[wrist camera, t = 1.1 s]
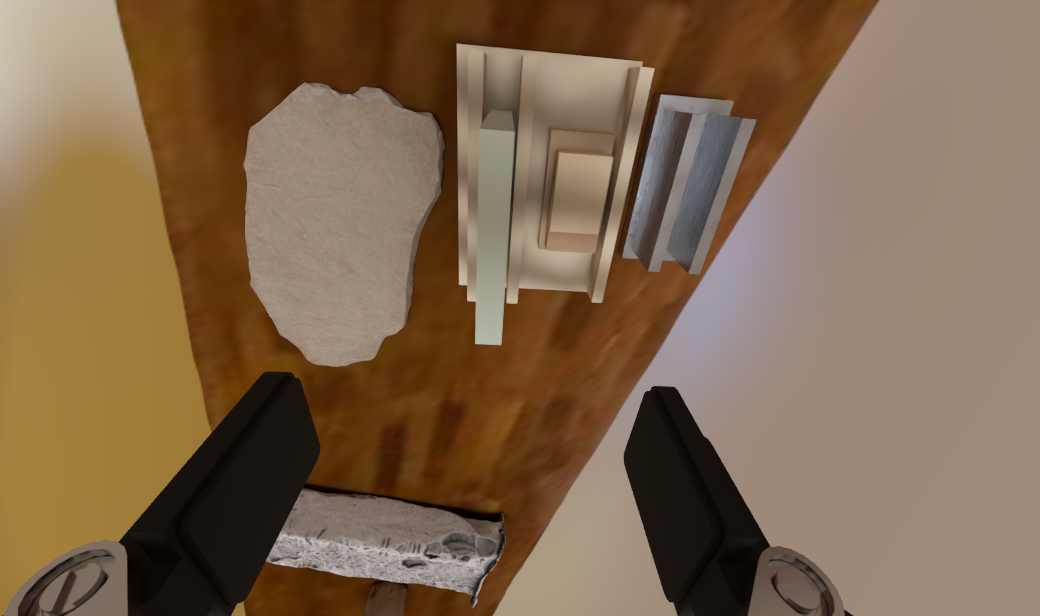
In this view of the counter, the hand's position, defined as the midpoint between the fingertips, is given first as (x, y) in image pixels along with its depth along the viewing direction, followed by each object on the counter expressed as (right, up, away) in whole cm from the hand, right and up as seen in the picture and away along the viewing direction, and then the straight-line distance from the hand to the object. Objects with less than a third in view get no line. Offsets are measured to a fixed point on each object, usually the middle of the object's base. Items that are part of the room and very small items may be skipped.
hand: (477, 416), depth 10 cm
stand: (+15, +15, +24) cm, 32 cm away
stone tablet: (-17, +10, +27) cm, 33 cm away
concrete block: (-22, -32, +52) cm, 64 cm away
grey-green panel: (-1, +14, +22) cm, 26 cm away
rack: (+3, +14, +24) cm, 28 cm away
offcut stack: (+6, +13, +23) cm, 27 cm away
